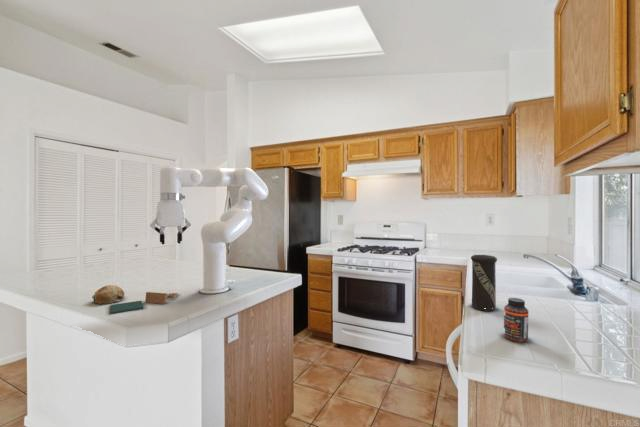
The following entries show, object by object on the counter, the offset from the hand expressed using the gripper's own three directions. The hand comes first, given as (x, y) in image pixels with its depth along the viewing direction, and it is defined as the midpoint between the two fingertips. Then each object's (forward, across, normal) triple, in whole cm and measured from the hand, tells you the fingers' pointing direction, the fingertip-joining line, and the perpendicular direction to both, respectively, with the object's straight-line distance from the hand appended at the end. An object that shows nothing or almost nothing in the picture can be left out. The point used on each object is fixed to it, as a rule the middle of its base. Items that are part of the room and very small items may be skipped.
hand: (171, 243), depth 121 cm
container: (+24, -97, +73) cm, 124 cm away
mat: (+23, +15, -1) cm, 28 cm away
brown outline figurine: (+21, +6, -2) cm, 22 cm away
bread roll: (+24, +21, -15) cm, 35 cm away
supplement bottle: (+24, -77, +93) cm, 123 cm away
